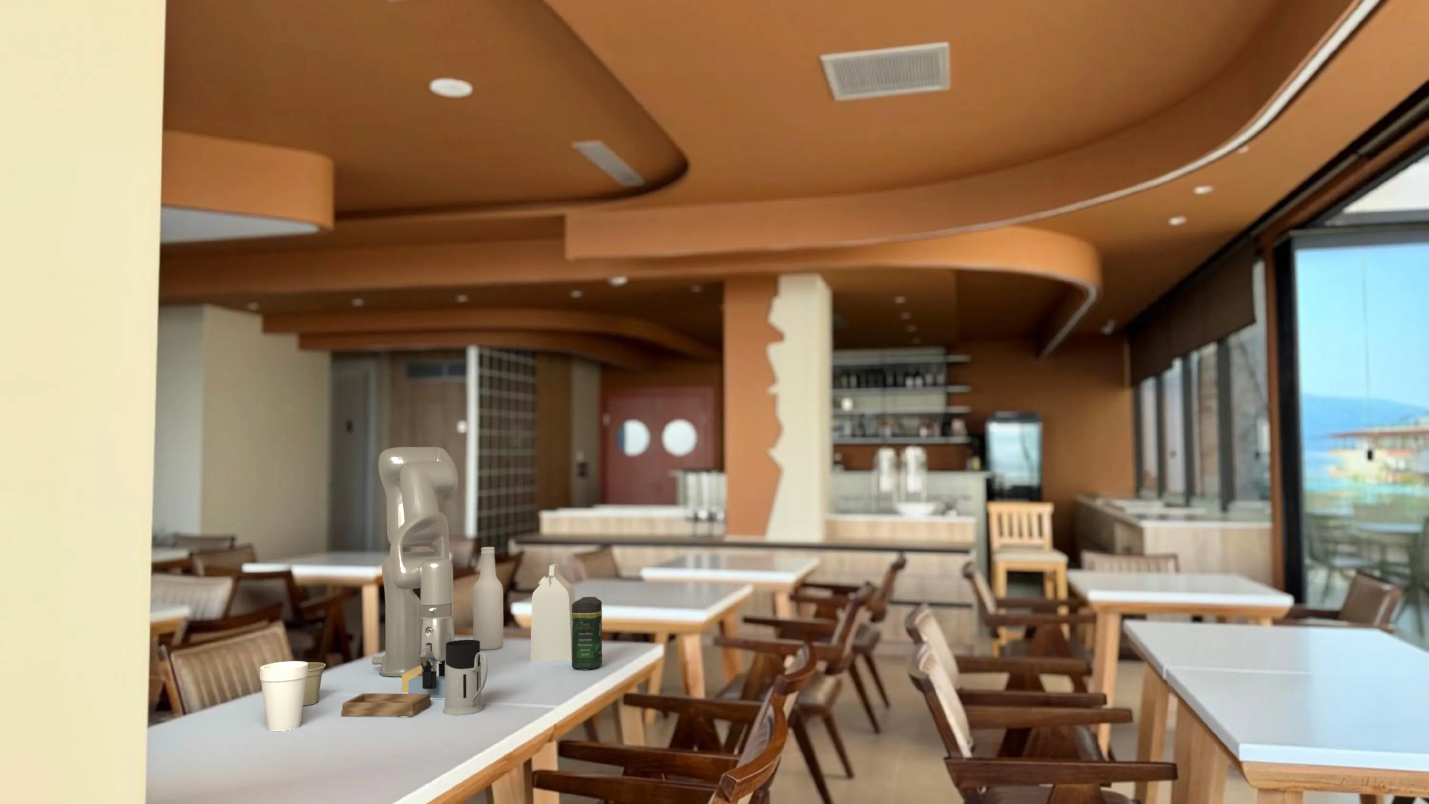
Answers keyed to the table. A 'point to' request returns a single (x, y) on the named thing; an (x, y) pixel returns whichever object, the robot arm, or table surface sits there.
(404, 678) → the mustard wooden brick
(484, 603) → the alcohol
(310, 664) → the flower pot
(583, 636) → the coffee jar
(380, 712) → the cradle
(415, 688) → the pale grey-blue block
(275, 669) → the foam cup
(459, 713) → the glass holder
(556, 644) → the milk
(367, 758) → the table surface
